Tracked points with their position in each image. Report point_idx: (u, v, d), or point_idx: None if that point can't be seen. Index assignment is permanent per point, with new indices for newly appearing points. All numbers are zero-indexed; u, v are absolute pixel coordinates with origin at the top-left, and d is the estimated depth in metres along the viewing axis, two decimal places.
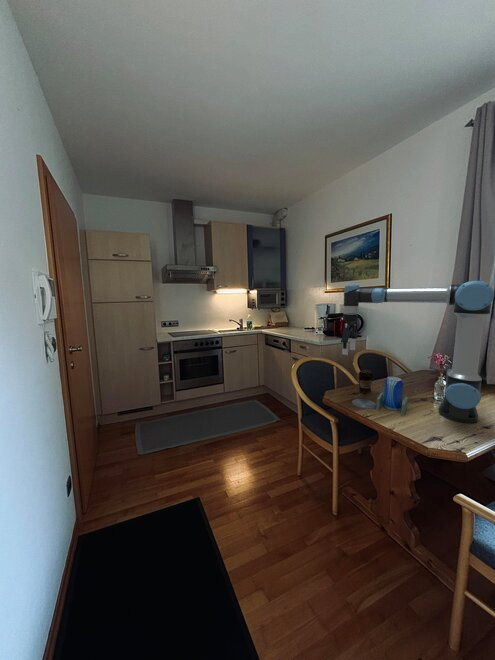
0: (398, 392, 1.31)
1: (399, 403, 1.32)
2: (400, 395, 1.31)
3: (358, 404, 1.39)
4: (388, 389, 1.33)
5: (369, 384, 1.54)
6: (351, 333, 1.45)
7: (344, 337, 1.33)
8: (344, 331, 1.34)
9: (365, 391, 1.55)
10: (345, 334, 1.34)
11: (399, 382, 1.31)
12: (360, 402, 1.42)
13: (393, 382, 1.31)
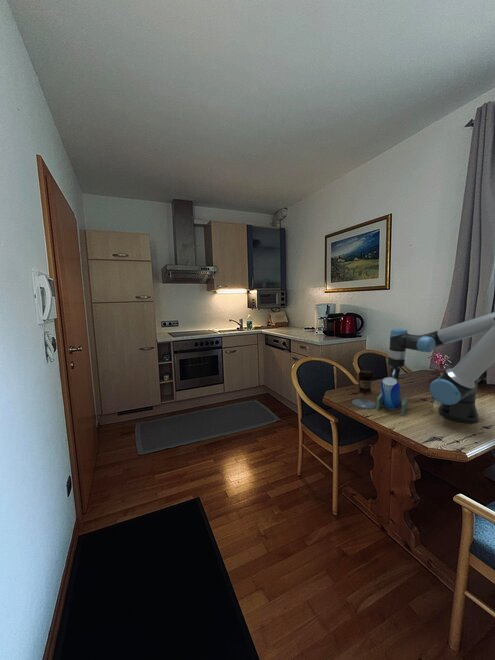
0: (395, 394, 1.28)
1: (398, 403, 1.31)
2: (398, 396, 1.29)
3: (358, 404, 1.39)
4: (385, 393, 1.31)
5: (369, 384, 1.54)
6: None
7: None
8: None
9: (365, 391, 1.55)
10: None
11: (395, 386, 1.27)
12: (360, 402, 1.42)
13: (389, 386, 1.28)
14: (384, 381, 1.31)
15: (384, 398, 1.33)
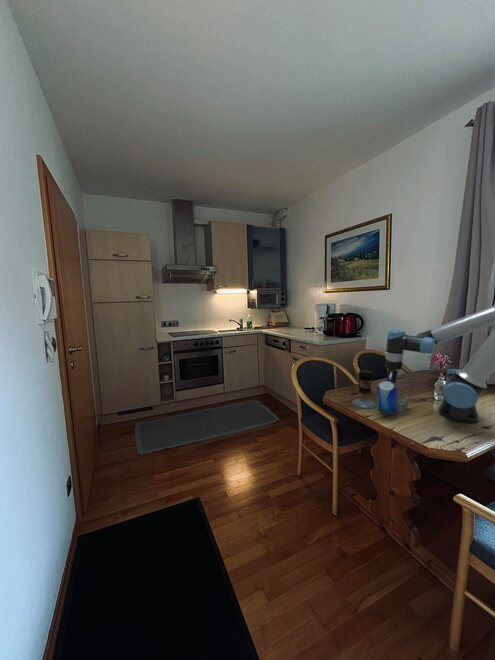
0: (392, 399, 1.23)
1: (395, 407, 1.26)
2: (395, 401, 1.24)
3: (358, 404, 1.39)
4: (381, 398, 1.25)
5: (369, 384, 1.54)
6: None
7: None
8: None
9: (365, 391, 1.55)
10: None
11: (392, 390, 1.22)
12: (360, 402, 1.42)
13: (386, 391, 1.22)
14: (380, 385, 1.25)
15: (381, 403, 1.27)
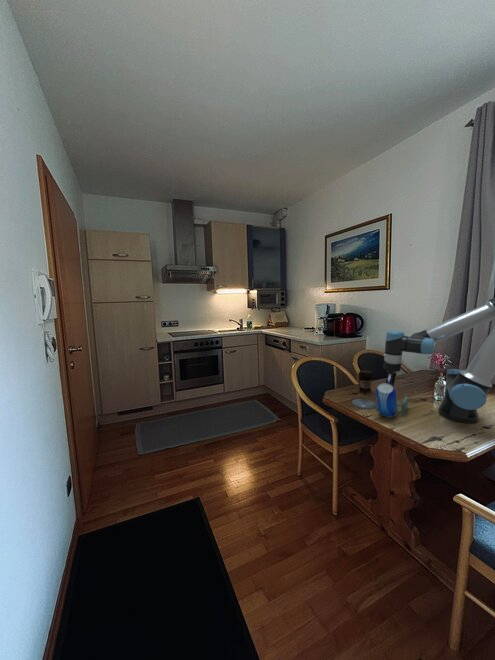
0: (392, 402, 1.20)
1: (394, 410, 1.23)
2: (394, 404, 1.21)
3: (358, 404, 1.39)
4: (380, 401, 1.22)
5: (369, 384, 1.54)
6: None
7: None
8: None
9: (365, 391, 1.55)
10: None
11: (391, 393, 1.18)
12: (360, 402, 1.42)
13: (385, 394, 1.19)
14: (379, 388, 1.22)
15: (380, 406, 1.24)
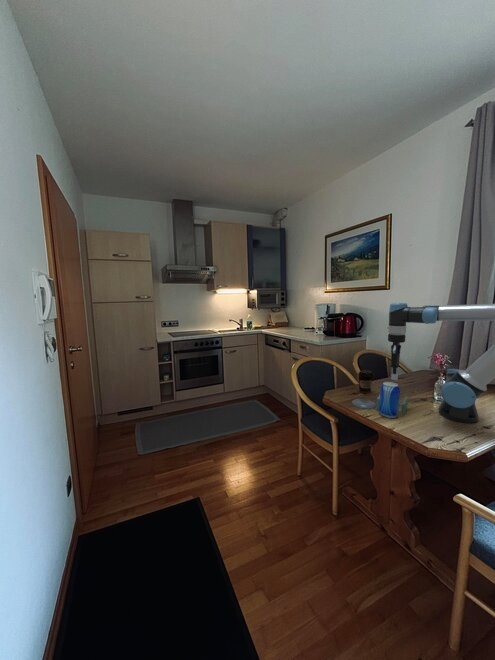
0: (395, 398, 1.23)
1: (396, 410, 1.24)
2: (397, 402, 1.24)
3: (358, 404, 1.39)
4: (384, 396, 1.25)
5: (369, 384, 1.54)
6: None
7: (394, 363, 1.27)
8: (393, 357, 1.27)
9: (365, 391, 1.55)
10: (394, 360, 1.27)
11: (396, 388, 1.23)
12: (360, 402, 1.42)
13: (390, 387, 1.24)
14: (385, 384, 1.27)
15: (382, 402, 1.26)
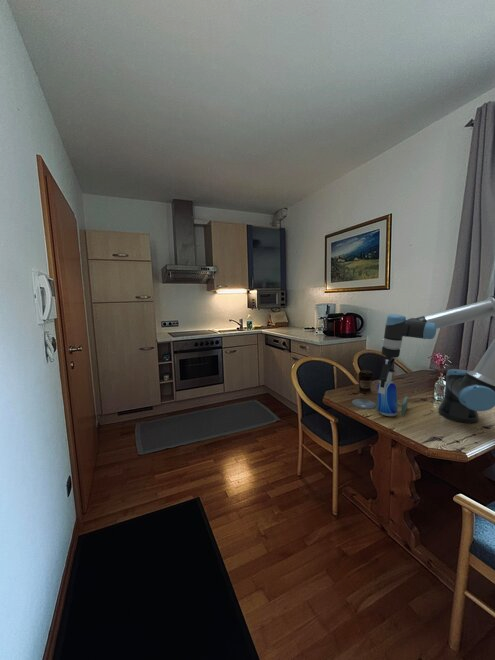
0: (392, 395, 1.25)
1: (395, 407, 1.25)
2: (394, 398, 1.25)
3: (358, 404, 1.39)
4: None
5: (369, 384, 1.54)
6: None
7: (383, 375, 1.17)
8: (384, 368, 1.18)
9: (365, 391, 1.55)
10: (385, 372, 1.17)
11: (391, 384, 1.26)
12: (360, 402, 1.42)
13: None
14: None
15: (380, 401, 1.28)
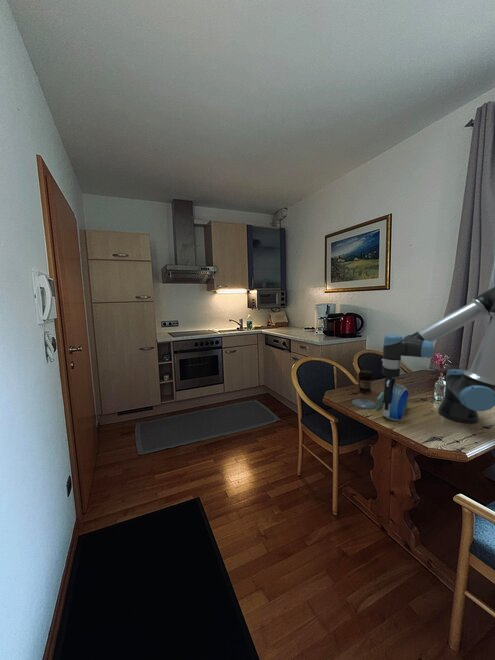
0: (403, 402, 1.19)
1: (402, 413, 1.21)
2: (404, 405, 1.20)
3: (358, 404, 1.39)
4: (392, 399, 1.20)
5: (369, 384, 1.54)
6: None
7: (386, 398, 1.19)
8: (385, 391, 1.19)
9: (365, 391, 1.55)
10: (387, 395, 1.19)
11: (406, 391, 1.19)
12: (360, 402, 1.42)
13: (400, 391, 1.19)
14: (393, 386, 1.22)
15: None
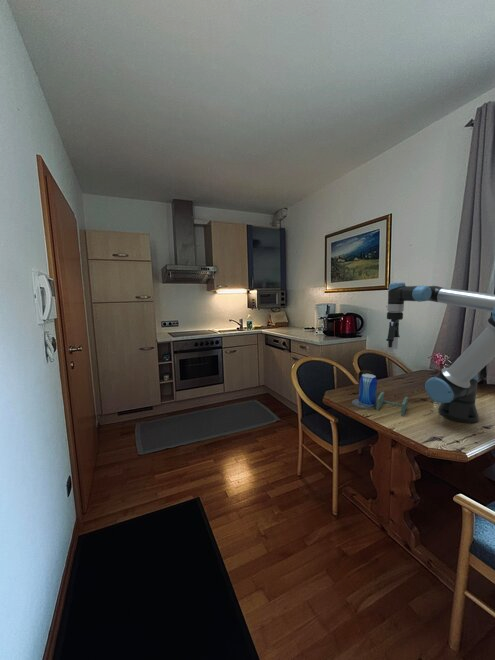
0: (373, 388, 1.34)
1: (374, 399, 1.35)
2: (375, 391, 1.35)
3: (358, 404, 1.39)
4: (363, 387, 1.36)
5: None
6: None
7: (390, 335, 1.32)
8: (390, 329, 1.33)
9: None
10: (391, 332, 1.32)
11: (374, 379, 1.34)
12: None
13: (369, 379, 1.34)
14: (363, 375, 1.38)
15: (362, 393, 1.37)
